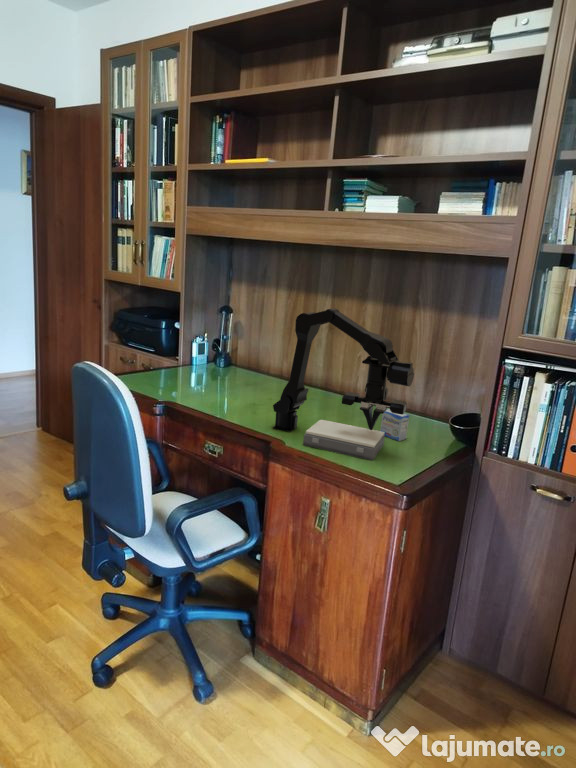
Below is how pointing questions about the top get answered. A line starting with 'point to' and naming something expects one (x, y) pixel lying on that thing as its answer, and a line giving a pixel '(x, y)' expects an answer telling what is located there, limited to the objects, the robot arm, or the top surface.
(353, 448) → the cable tray
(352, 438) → the tray lid
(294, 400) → the robot arm
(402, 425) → the medicine box
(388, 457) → the top surface
